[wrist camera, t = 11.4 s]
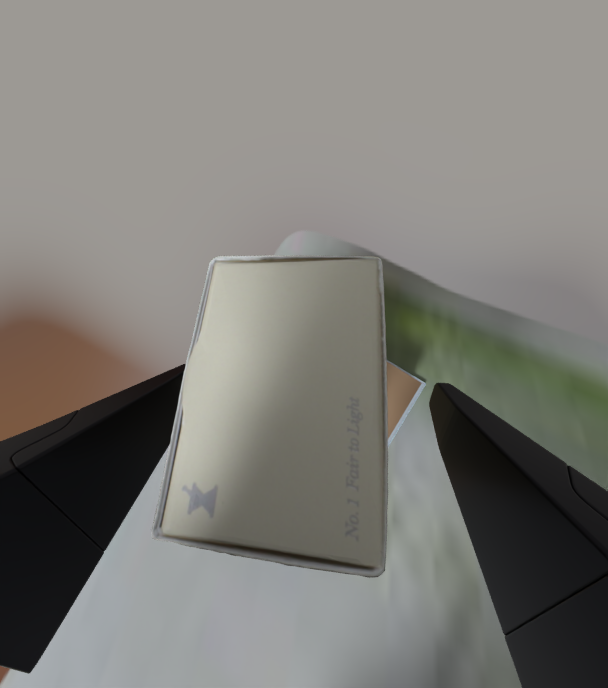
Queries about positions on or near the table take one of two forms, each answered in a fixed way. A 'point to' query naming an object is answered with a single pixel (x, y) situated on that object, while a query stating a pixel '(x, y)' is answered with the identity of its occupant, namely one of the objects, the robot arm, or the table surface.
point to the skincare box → (284, 416)
